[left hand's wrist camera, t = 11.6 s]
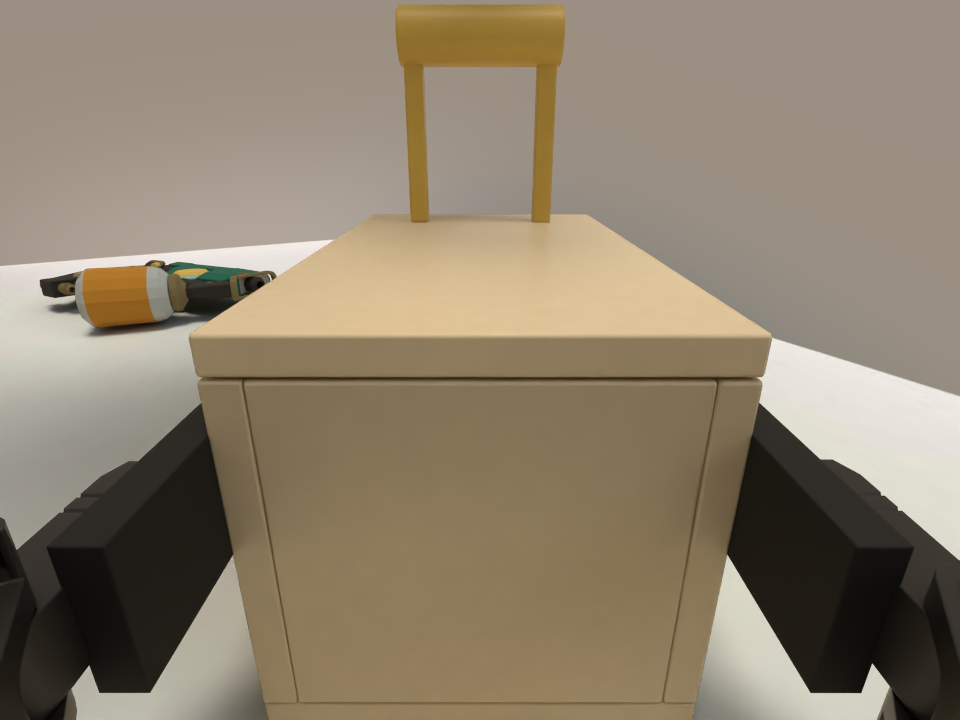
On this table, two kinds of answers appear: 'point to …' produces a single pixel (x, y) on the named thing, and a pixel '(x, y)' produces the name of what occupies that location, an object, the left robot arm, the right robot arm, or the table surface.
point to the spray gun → (149, 290)
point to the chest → (480, 540)
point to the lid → (480, 265)
